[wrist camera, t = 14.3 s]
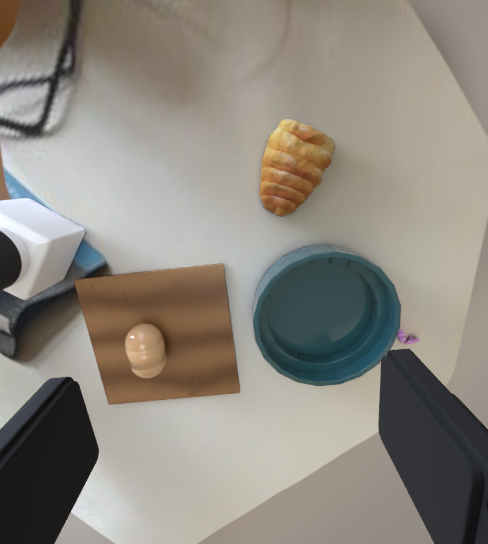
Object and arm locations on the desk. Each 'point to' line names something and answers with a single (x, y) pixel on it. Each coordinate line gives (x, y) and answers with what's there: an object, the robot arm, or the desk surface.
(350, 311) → the bowl
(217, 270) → the wooden board
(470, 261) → the desk surface
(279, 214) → the pastry
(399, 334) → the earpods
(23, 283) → the medicine bottle
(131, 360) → the beige ridged oval
